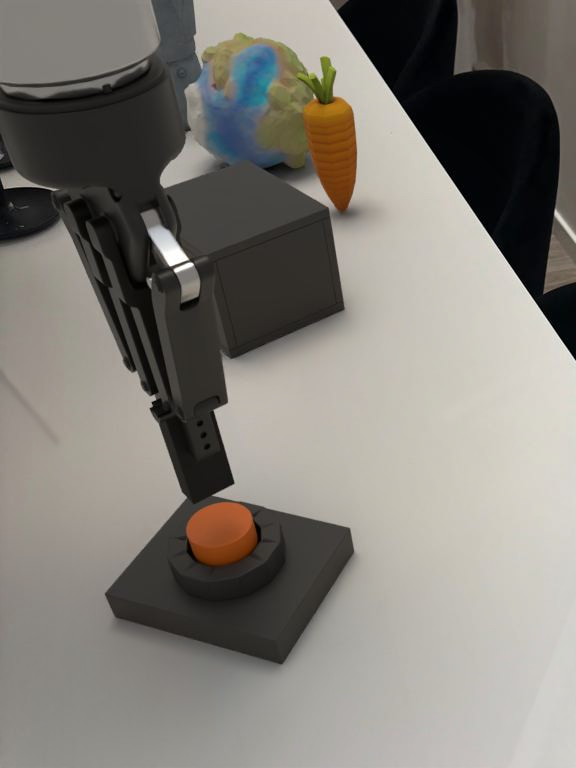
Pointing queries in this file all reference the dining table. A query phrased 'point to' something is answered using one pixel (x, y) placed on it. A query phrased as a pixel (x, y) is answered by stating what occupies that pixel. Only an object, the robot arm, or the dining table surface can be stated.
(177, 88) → the moka pot
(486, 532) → the dining table surface
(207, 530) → the button
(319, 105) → the carrot
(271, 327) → the dark grey panelled cube
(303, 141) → the decorative rock
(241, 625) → the control pad
